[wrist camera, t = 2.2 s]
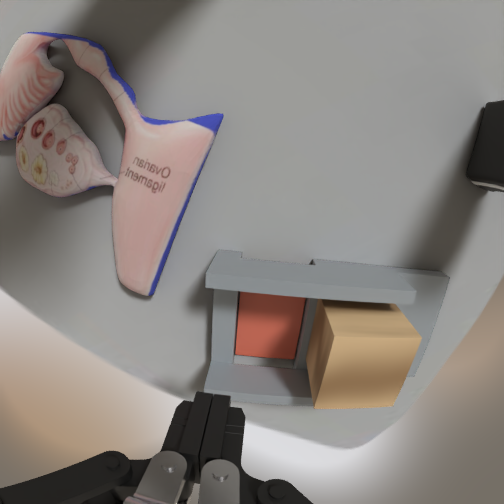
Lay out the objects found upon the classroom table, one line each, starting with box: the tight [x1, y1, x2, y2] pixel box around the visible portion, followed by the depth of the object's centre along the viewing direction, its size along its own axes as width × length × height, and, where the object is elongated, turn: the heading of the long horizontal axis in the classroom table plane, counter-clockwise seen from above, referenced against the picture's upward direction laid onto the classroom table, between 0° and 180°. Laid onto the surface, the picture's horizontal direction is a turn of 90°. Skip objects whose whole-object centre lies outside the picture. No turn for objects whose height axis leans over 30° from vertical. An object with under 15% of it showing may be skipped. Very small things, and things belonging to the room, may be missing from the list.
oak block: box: [306, 299, 422, 409], centre depth 17 cm, size 5×5×5 cm
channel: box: [204, 250, 450, 406], centre depth 18 cm, size 9×16×4 cm, turn 85°
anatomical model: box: [0, 32, 223, 296], centre depth 17 cm, size 20×3×15 cm
